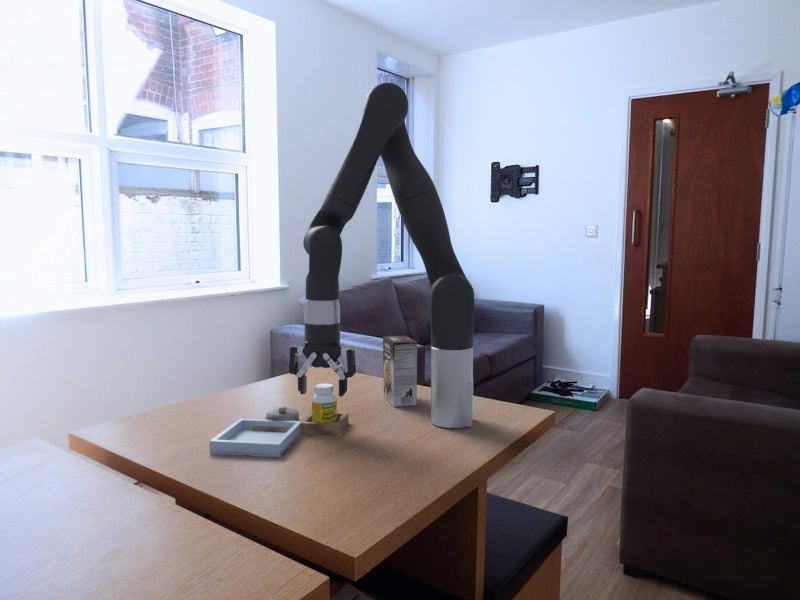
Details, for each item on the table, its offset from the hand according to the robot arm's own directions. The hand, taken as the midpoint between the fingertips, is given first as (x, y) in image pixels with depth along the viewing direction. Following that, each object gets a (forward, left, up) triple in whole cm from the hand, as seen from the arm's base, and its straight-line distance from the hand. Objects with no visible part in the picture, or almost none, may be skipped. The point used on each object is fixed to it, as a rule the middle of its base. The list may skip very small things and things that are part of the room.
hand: (322, 394), depth 124 cm
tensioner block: (+5, 0, -8) cm, 9 cm away
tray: (+10, +10, -8) cm, 17 cm away
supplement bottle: (0, 0, -8) cm, 8 cm away
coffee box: (-13, -23, -8) cm, 28 cm away
